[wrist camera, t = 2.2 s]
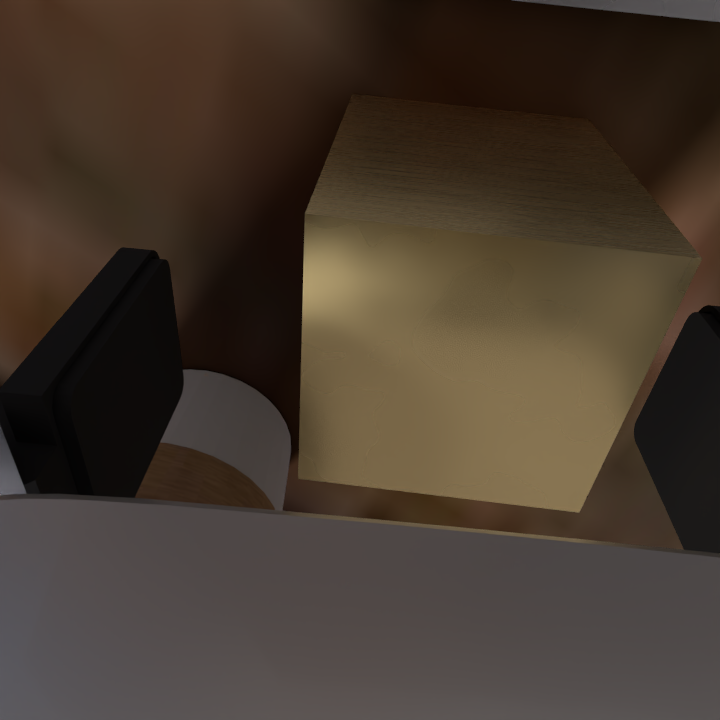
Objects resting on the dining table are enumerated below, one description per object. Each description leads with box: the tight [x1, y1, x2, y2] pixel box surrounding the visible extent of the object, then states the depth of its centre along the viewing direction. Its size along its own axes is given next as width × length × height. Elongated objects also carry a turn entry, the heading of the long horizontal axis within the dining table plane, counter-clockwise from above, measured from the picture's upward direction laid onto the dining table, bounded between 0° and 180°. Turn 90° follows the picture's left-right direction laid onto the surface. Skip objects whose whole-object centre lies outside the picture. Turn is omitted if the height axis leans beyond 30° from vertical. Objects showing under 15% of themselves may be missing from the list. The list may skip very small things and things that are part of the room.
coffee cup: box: [135, 369, 291, 511], centre depth 15 cm, size 8×8×15 cm
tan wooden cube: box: [298, 94, 702, 512], centre depth 13 cm, size 6×6×7 cm
